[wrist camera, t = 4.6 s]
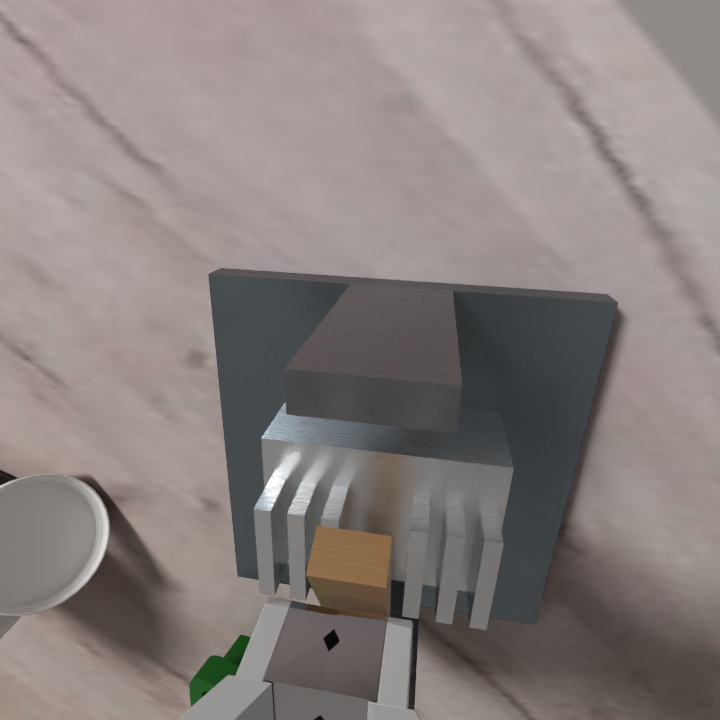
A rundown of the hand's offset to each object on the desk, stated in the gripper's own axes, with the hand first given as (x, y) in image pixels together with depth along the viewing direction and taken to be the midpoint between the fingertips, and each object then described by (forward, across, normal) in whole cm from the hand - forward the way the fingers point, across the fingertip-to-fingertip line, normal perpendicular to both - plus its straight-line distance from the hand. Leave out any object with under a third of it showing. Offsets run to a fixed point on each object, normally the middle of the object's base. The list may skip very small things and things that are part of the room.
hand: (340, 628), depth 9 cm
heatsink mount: (+12, 0, -4) cm, 13 cm away
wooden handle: (+4, 0, -4) cm, 6 cm away
